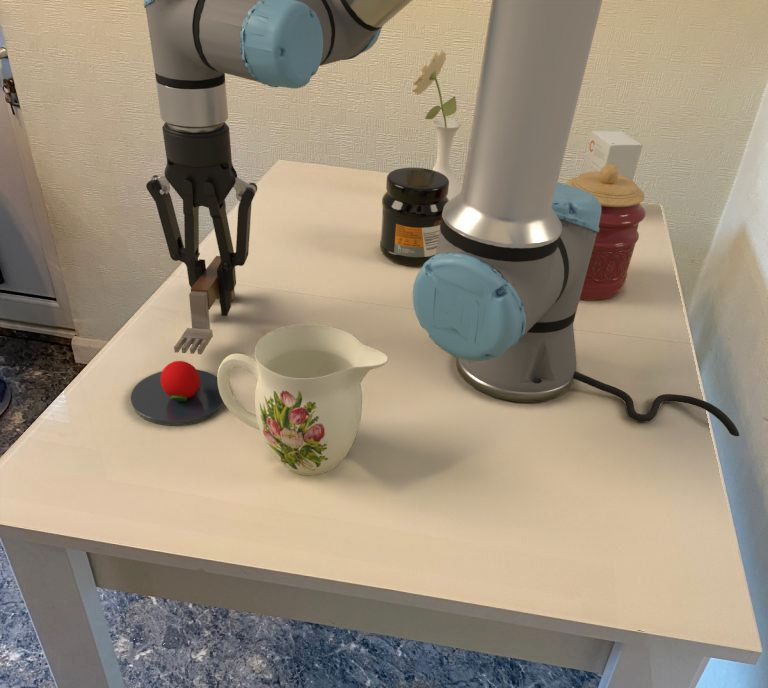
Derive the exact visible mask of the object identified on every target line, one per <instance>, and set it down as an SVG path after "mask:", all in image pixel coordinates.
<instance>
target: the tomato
mask: <svg viewBox="0 0 768 688" xmlns="http://www.w3.org/2000/svg"><path fill="white" fill-rule="evenodd" d="M197 370H198V369H197ZM197 370H196V367H195V366H194V365H192V364H191V363H189V362H188V361H185V360H175V361H172V362H170V363H168V364H166V365H165V367H164V368H163V369H162V374H161V385H162V388H163V389H164V391H165V392H166V393H167V394H168V395H169V396H170V397H171V399H172V400H174V401H179V402H185V401H187V399H188V398H190V397H192V396H193V395H194V394H195V393H196V392H197V391H198V389H199V386H200V376H199V373H198V371H197Z"/></svg>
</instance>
